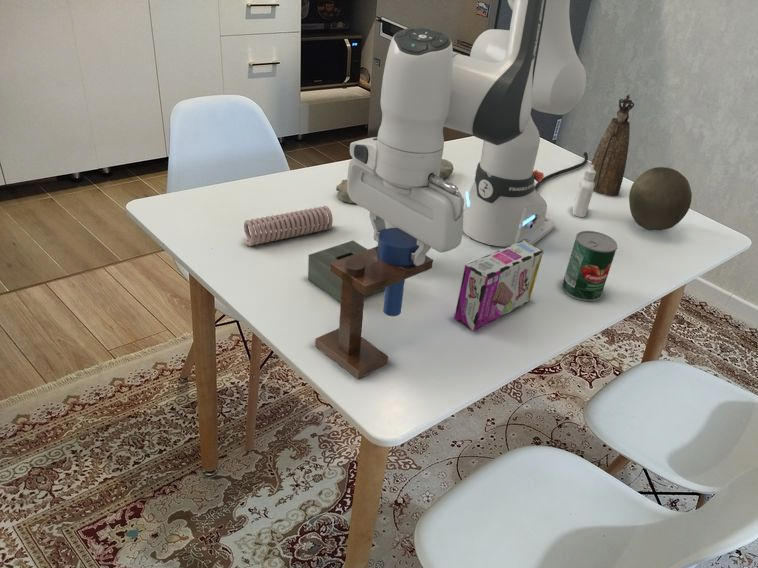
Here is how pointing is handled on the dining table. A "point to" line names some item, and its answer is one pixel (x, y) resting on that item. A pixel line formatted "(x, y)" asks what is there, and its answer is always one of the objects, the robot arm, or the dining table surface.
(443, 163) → the elongated rock
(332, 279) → the holder
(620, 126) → the statue
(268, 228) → the coil
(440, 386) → the dining table surface
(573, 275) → the canned tomato
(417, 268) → the stand
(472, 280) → the candy bar box
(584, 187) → the eye dropper bottle
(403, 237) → the peg
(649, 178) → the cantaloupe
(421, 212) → the robot arm
